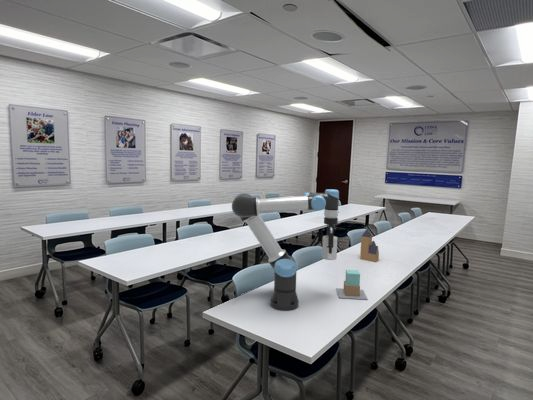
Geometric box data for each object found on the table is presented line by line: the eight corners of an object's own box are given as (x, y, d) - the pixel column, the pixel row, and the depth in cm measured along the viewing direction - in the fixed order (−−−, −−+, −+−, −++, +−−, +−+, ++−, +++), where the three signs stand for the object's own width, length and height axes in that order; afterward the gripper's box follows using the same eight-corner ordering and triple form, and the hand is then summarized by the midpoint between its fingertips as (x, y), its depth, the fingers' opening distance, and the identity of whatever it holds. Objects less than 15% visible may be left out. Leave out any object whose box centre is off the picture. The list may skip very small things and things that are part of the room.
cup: (326, 255, 198) (327, 235, 197) (339, 257, 193) (340, 237, 192) (319, 257, 192) (320, 237, 191) (332, 260, 187) (333, 239, 186)
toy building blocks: (360, 259, 271) (361, 228, 268) (369, 254, 285) (371, 225, 282) (375, 262, 263) (377, 230, 260) (384, 257, 277) (386, 227, 274)
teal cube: (347, 285, 194) (347, 273, 193) (345, 281, 201) (346, 269, 200) (359, 286, 193) (360, 274, 193) (357, 281, 200) (358, 270, 199)
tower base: (338, 298, 192) (339, 287, 191) (336, 289, 206) (336, 278, 205) (367, 300, 190) (368, 288, 189) (363, 290, 204) (363, 280, 203)
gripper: (339, 220, 179) (337, 262, 182) (335, 214, 200) (334, 252, 203) (325, 219, 180) (323, 261, 183) (323, 213, 201) (321, 251, 203)
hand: (329, 256), depth 193 cm, fingers closed on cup, 8 cm apart
